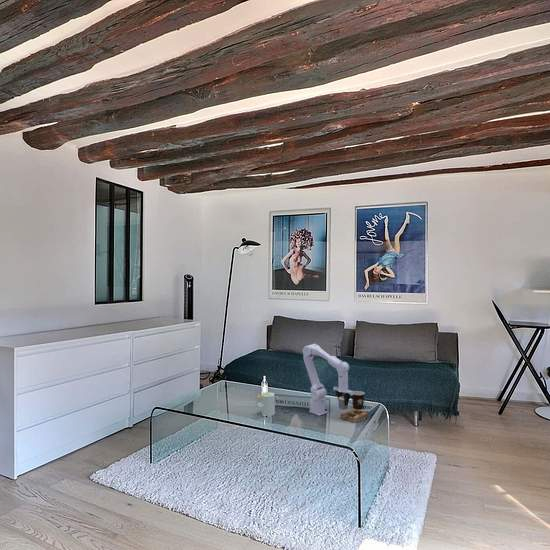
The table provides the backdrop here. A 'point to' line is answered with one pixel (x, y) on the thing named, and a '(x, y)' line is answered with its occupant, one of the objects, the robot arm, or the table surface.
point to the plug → (342, 403)
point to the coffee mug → (358, 400)
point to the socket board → (354, 415)
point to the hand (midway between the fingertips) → (343, 404)
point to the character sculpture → (267, 403)
